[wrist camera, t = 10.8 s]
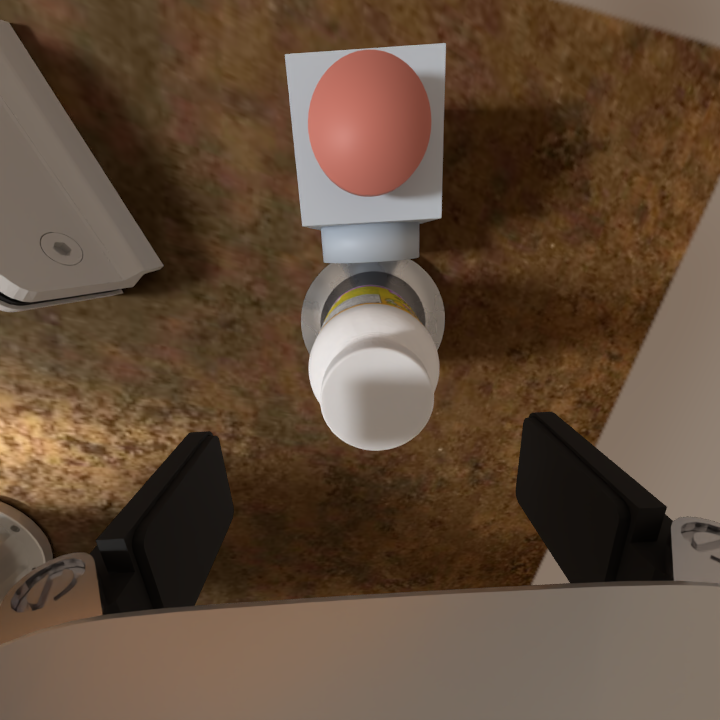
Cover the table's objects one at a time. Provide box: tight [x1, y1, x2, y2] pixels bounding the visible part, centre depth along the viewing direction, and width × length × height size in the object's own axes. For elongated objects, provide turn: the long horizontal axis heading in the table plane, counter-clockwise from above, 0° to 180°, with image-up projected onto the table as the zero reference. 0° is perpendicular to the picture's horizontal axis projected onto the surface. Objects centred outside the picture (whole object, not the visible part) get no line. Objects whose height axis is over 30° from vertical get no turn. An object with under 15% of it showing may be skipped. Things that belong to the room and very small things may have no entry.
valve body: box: [285, 43, 446, 263], centre depth 19 cm, size 9×7×10 cm
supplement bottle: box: [309, 285, 439, 451], centre depth 20 cm, size 7×7×13 cm
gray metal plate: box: [301, 259, 445, 354], centre depth 26 cm, size 11×11×1 cm
